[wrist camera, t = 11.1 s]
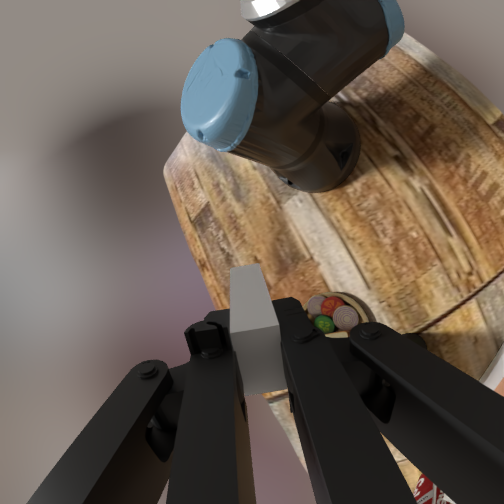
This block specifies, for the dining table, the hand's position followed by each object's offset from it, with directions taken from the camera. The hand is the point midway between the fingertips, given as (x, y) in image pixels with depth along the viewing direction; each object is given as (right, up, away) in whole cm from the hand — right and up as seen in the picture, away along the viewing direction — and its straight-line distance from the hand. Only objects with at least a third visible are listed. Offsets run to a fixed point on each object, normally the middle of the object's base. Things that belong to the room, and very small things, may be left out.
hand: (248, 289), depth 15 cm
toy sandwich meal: (+13, -10, +25) cm, 30 cm away
